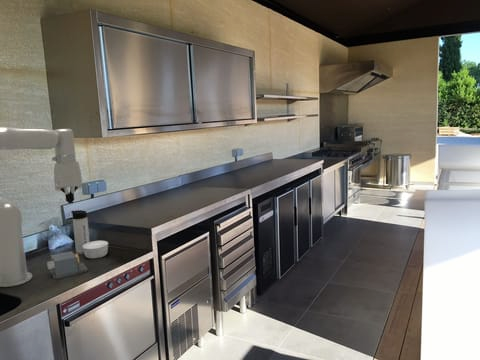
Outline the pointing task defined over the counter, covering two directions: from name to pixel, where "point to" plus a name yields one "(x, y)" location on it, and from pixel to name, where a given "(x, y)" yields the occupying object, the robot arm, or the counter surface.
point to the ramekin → (95, 249)
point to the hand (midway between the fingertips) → (70, 202)
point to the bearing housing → (66, 265)
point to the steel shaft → (51, 263)
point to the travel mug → (80, 229)
